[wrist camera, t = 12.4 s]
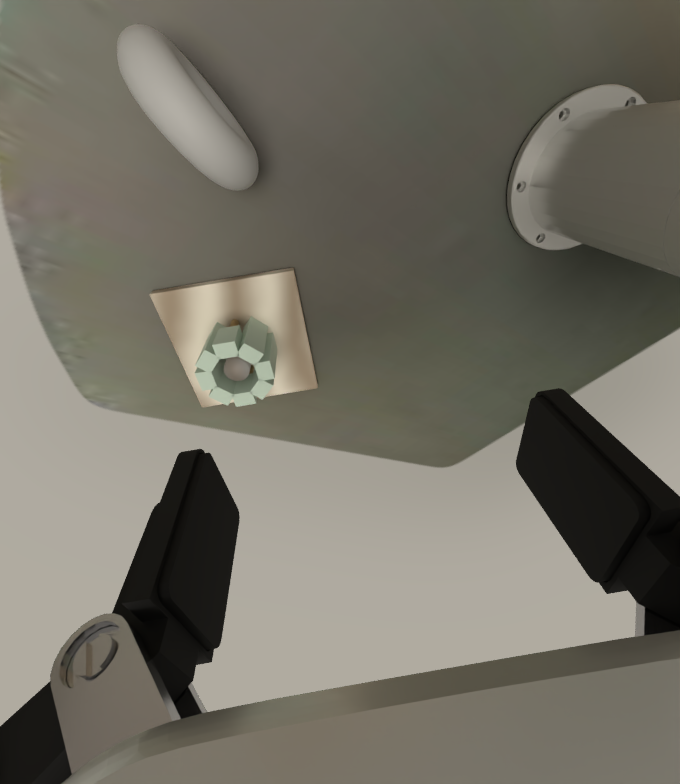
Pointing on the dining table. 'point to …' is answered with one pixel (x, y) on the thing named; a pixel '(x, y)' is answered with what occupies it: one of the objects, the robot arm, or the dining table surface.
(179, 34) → the dining table surface
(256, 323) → the collar
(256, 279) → the post base
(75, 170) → the dining table surface
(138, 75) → the donut
